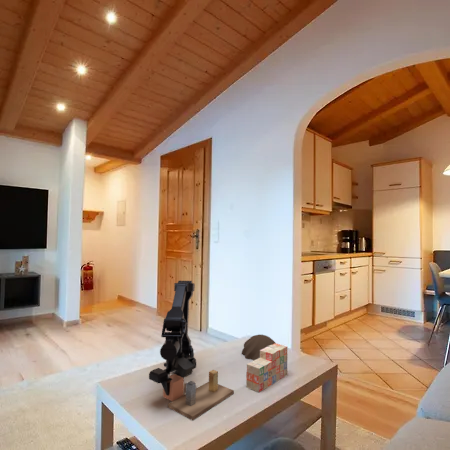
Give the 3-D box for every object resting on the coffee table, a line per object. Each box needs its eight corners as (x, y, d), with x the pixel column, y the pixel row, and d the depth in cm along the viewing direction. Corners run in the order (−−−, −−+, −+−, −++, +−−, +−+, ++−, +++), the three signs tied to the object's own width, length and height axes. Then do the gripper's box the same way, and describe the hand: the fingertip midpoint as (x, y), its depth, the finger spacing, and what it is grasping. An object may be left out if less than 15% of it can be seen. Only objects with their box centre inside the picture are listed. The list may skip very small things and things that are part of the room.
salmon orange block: (163, 396, 114) (163, 378, 114) (173, 391, 118) (174, 373, 118) (172, 401, 111) (173, 383, 111) (183, 395, 115) (183, 377, 115)
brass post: (208, 393, 117) (208, 371, 117) (212, 391, 118) (213, 369, 119) (213, 395, 115) (213, 373, 115) (217, 393, 117) (217, 371, 117)
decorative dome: (266, 366, 142) (266, 344, 143) (233, 354, 156) (234, 334, 156) (288, 354, 157) (288, 334, 157) (256, 345, 170) (256, 326, 170)
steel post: (185, 407, 107) (186, 383, 108) (190, 404, 109) (190, 380, 109) (190, 409, 106) (190, 385, 106) (195, 406, 108) (195, 383, 108)
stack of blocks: (259, 393, 118) (259, 360, 118) (245, 387, 122) (246, 356, 122) (287, 374, 134) (287, 345, 134) (275, 370, 138) (275, 342, 138)
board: (168, 407, 107) (168, 403, 107) (210, 383, 124) (210, 380, 124) (192, 420, 100) (192, 416, 100) (233, 393, 117) (233, 390, 117)
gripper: (169, 363, 103) (168, 411, 102) (207, 347, 117) (206, 389, 117) (148, 354, 110) (147, 399, 109) (186, 341, 124) (185, 380, 124)
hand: (173, 392), depth 114 cm, fingers closed on salmon orange block, 5 cm apart
